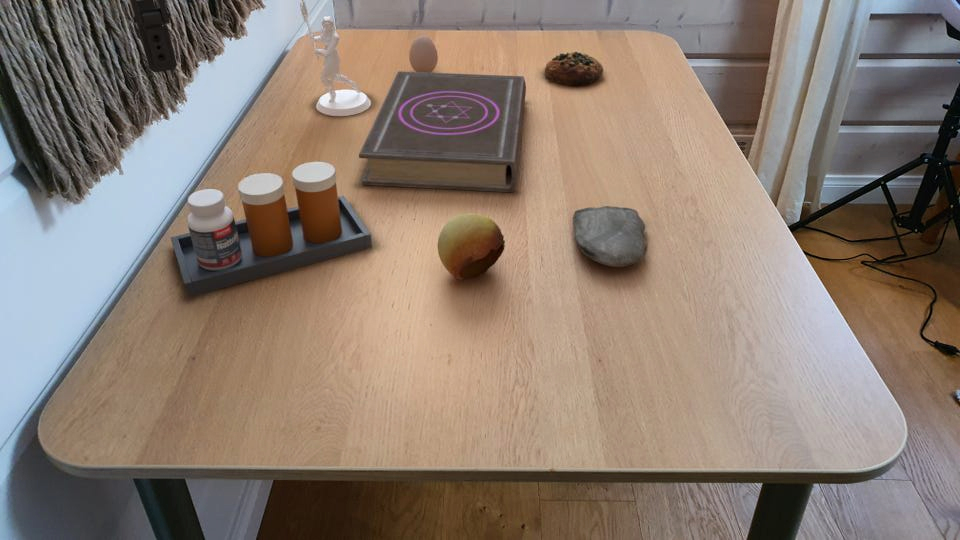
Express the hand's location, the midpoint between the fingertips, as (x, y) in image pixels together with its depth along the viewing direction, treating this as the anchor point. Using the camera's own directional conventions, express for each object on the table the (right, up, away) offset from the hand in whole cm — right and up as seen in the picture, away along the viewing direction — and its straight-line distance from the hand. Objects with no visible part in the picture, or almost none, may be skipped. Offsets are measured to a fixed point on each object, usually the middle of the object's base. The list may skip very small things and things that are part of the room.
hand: (156, 53), depth 65 cm
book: (+24, +1, +52) cm, 58 cm away
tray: (+3, -17, +28) cm, 33 cm away
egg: (+18, +18, +74) cm, 78 cm away
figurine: (+5, +10, +63) cm, 64 cm away
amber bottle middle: (+3, -16, +28) cm, 32 cm away
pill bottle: (-3, -18, +25) cm, 31 cm away
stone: (+45, -16, +30) cm, 56 cm away
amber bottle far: (+8, -14, +30) cm, 34 cm away
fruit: (+28, -20, +24) cm, 42 cm away
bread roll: (+46, +17, +74) cm, 89 cm away
